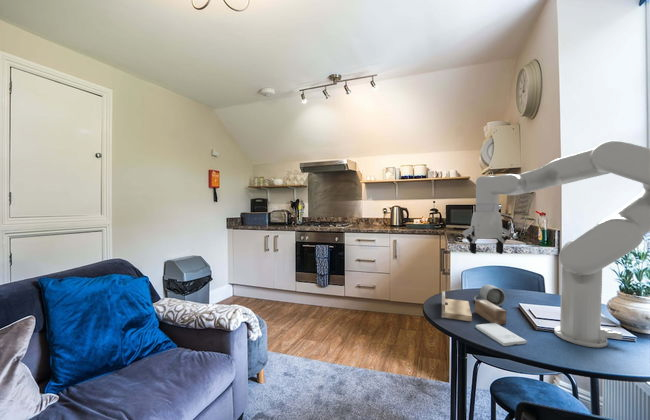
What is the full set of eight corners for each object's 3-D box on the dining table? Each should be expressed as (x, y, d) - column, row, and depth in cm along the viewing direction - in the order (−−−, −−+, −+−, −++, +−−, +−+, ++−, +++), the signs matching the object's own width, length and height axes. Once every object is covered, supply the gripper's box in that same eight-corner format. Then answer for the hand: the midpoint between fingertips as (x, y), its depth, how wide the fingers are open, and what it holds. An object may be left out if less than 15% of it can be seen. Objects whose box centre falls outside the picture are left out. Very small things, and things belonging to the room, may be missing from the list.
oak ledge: (468, 305, 117) (468, 294, 117) (471, 321, 102) (471, 308, 102) (441, 302, 121) (442, 291, 121) (441, 317, 106) (441, 304, 106)
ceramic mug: (496, 299, 124) (496, 282, 124) (505, 306, 116) (505, 288, 115) (471, 299, 125) (470, 282, 125) (478, 306, 117) (478, 288, 117)
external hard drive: (496, 327, 99) (527, 345, 87) (475, 329, 97) (503, 347, 85) (496, 322, 99) (527, 339, 86) (475, 324, 97) (503, 342, 85)
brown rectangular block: (485, 312, 111) (485, 299, 111) (506, 324, 100) (506, 310, 100) (475, 312, 110) (475, 299, 110) (494, 325, 99) (494, 310, 99)
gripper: (504, 208, 110) (503, 251, 111) (459, 208, 111) (459, 251, 111) (516, 208, 102) (515, 255, 103) (468, 209, 103) (467, 255, 104)
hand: (486, 253), depth 107 cm, fingers open, 9 cm apart
